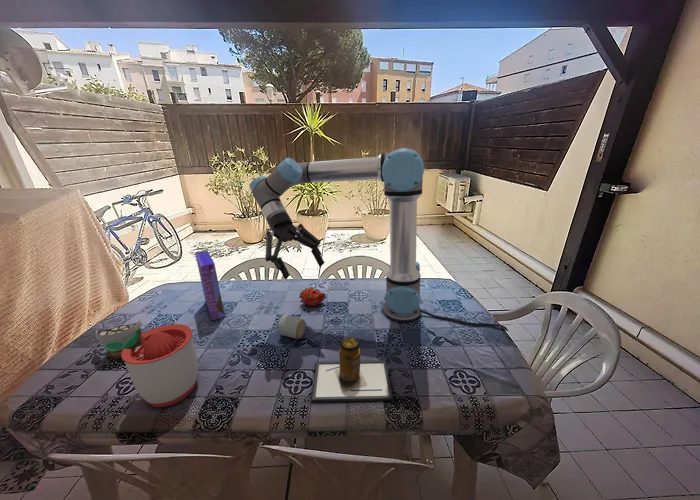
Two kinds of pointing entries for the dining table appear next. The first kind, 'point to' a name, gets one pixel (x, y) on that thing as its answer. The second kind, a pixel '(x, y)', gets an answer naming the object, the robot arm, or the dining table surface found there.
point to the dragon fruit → (312, 297)
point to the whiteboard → (375, 389)
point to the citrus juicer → (163, 365)
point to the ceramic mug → (291, 326)
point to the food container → (120, 339)
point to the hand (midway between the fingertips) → (305, 270)
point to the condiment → (350, 365)
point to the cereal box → (210, 284)
